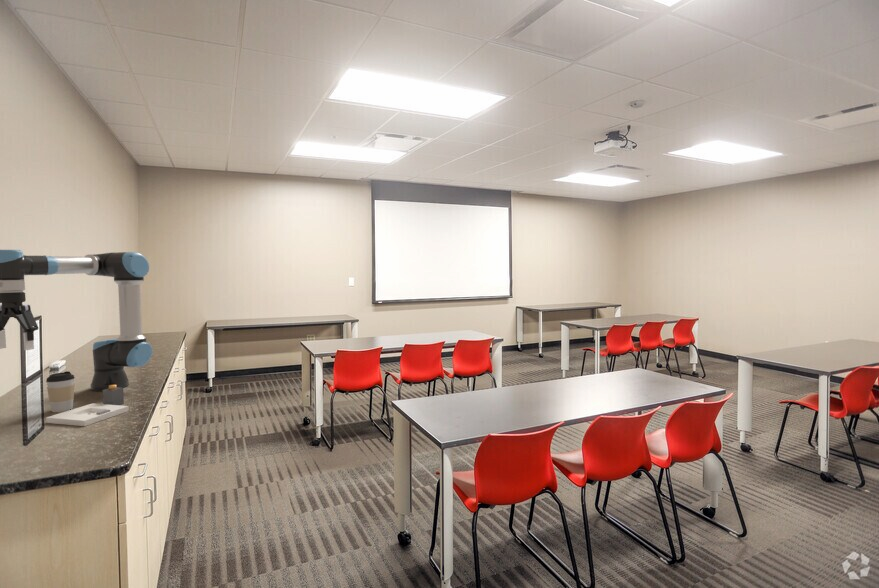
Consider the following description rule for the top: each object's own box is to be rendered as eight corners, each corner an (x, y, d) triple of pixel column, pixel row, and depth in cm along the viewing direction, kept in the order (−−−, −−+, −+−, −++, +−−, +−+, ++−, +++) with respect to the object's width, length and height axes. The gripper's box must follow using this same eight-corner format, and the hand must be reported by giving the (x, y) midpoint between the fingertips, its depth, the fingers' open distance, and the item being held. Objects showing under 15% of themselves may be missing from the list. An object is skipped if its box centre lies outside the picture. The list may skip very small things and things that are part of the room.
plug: (114, 403, 196) (113, 383, 195) (123, 404, 195) (122, 384, 194) (103, 406, 191) (102, 386, 190) (113, 407, 190) (112, 387, 189)
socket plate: (92, 408, 189) (92, 401, 189) (128, 410, 185) (128, 404, 185) (46, 422, 171) (45, 415, 171) (85, 426, 167) (84, 419, 167)
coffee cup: (60, 413, 182) (58, 376, 181) (41, 412, 184) (39, 375, 183) (82, 406, 191) (80, 371, 190) (64, 405, 193) (62, 370, 192)
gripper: (-27, 292, 168) (-23, 349, 170) (26, 292, 163) (29, 352, 164) (-3, 291, 176) (1, 346, 177) (48, 291, 170) (52, 348, 171)
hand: (15, 349), depth 170 cm, fingers open, 13 cm apart
